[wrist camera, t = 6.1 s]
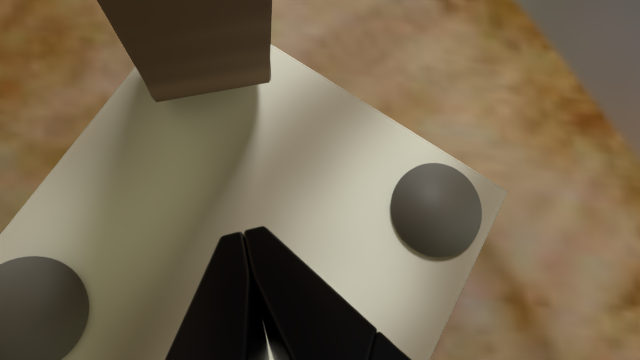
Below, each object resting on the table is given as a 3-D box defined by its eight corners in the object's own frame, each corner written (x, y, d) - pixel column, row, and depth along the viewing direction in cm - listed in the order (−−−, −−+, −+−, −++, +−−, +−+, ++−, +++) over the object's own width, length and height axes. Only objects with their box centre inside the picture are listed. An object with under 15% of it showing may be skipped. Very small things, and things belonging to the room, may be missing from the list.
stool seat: (472, 201, 17) (510, 190, 14) (312, 527, 14) (325, 588, 11) (201, 34, 17) (191, -8, 14) (-25, 328, 13) (-92, 344, 11)
